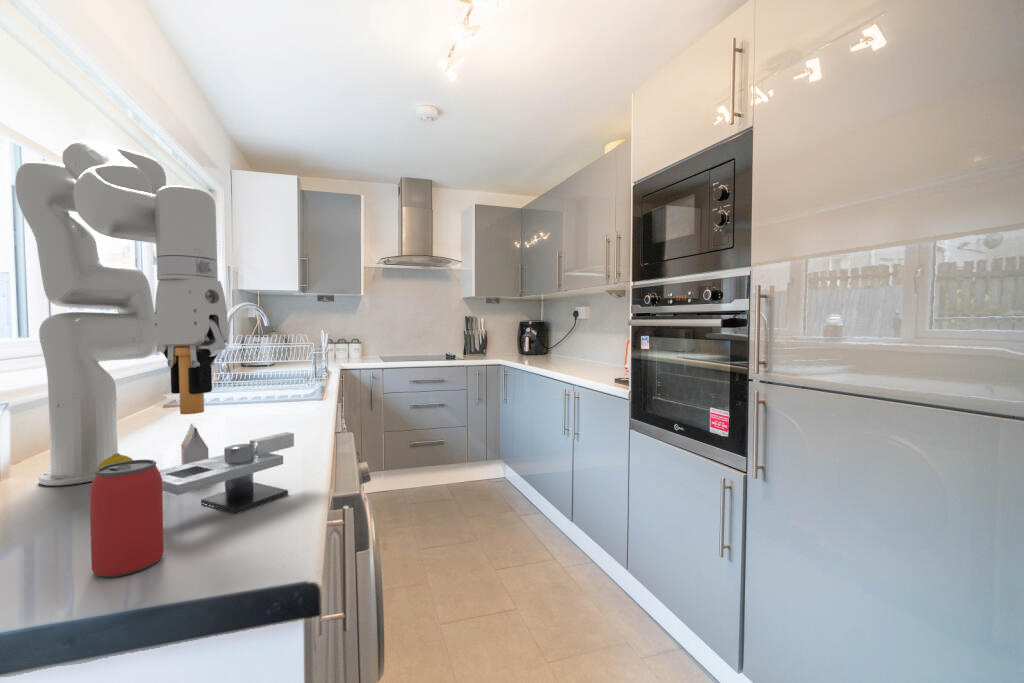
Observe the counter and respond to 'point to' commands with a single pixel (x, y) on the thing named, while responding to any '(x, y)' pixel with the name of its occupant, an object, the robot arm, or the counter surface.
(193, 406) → the orange flanged peg
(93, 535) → the beer can
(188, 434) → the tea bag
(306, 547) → the counter surface
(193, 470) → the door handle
